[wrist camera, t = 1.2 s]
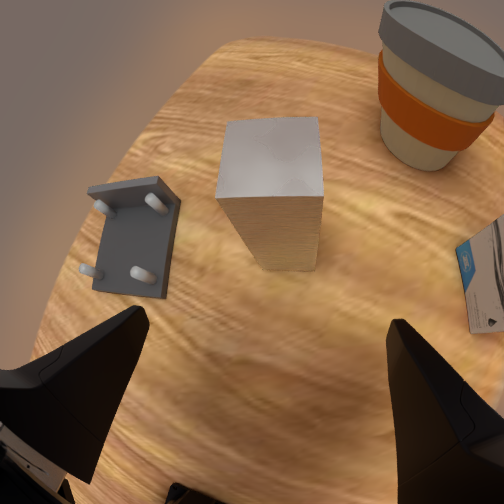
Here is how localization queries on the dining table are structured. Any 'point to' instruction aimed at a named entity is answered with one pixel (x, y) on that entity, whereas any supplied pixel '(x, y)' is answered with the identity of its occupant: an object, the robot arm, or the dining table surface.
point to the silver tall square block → (274, 189)
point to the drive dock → (134, 237)
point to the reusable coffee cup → (435, 83)
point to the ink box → (484, 278)
